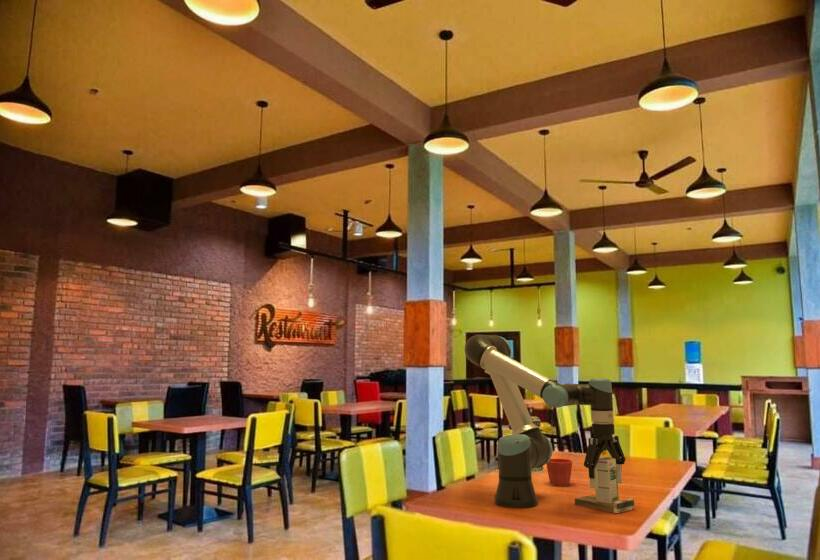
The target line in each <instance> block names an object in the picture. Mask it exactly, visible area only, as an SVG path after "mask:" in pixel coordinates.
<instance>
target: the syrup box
mask: <svg viewBox="0 0 820 560" xmlns="http://www.w3.org/2000/svg"><path fill="white" fill-rule="evenodd" d="M595 469H597V478H598V489H595V495H596V501H597V502H601V503H608V504H612V503H613V502H616V501H619V500H620V497H619V486H618V485H619V483H617V471H616V459H615V458H612V457H611V456H610V457H609V456H604V457H603V456H600V457H599V460H598V462H597V465H596V467H595Z"/></svg>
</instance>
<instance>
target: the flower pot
mask: <svg viewBox="0 0 820 560" xmlns="http://www.w3.org/2000/svg"><path fill="white" fill-rule="evenodd" d="M545 465H546V469H547V476H548V479H549V484H550V485H551V484H552V486H555V485H557V486H556V487H567V485H568V486H570V482H571V475H572V468H573V461H572V460H571V459H568V458H566V459H565V458H551V459H550V461H549V462H548V463H546V464H545Z"/></svg>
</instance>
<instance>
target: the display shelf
mask: <svg viewBox="0 0 820 560" xmlns="http://www.w3.org/2000/svg"><path fill="white" fill-rule="evenodd" d="M574 505H576V506H581V507H584V508H589V509H593V508H594V509H593V510H597V509H599V510H598V511H602V510H603V511H602V512H606V511H607V513H611V512H612V513H611V514H615V513H618V514H621V513H620V512H622V513H625V512H624V511H626V512H630V511H633V510H632V509H634V510H635V508H636V507H635V498H633V497H631V498H630V497H629V498H626V499H619V501H616V502H613V503H612V504H608V503H601V502H597V501H596V494H590V495H585V496H580V497H575V498H574ZM629 510H630V511H629Z"/></svg>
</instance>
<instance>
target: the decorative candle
mask: <svg viewBox="0 0 820 560" xmlns="http://www.w3.org/2000/svg"><path fill="white" fill-rule="evenodd" d="M530 417H531V419H532V422H533V424H534V425H536V426H538V427H539V428H540V431H541V433H542V435H544V434H543V430H544V429H542V427H541V426H542V425H541V419H540V417H538V416H536V415H534V416H532V415H530ZM543 473H544V465H543V466H541V467H538V468H533V469H531V474H543Z"/></svg>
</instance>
